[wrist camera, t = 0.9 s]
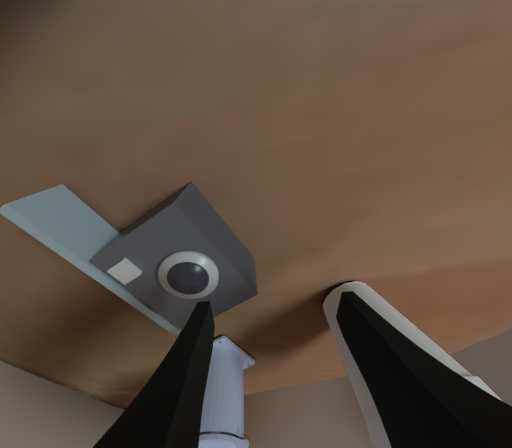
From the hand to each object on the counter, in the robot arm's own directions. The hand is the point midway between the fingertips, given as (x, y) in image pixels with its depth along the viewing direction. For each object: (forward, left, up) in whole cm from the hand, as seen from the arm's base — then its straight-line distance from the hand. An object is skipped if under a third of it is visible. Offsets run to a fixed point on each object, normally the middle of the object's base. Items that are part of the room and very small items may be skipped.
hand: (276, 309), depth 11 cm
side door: (-11, +5, -9) cm, 15 cm away
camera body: (-7, +2, -10) cm, 12 cm away
